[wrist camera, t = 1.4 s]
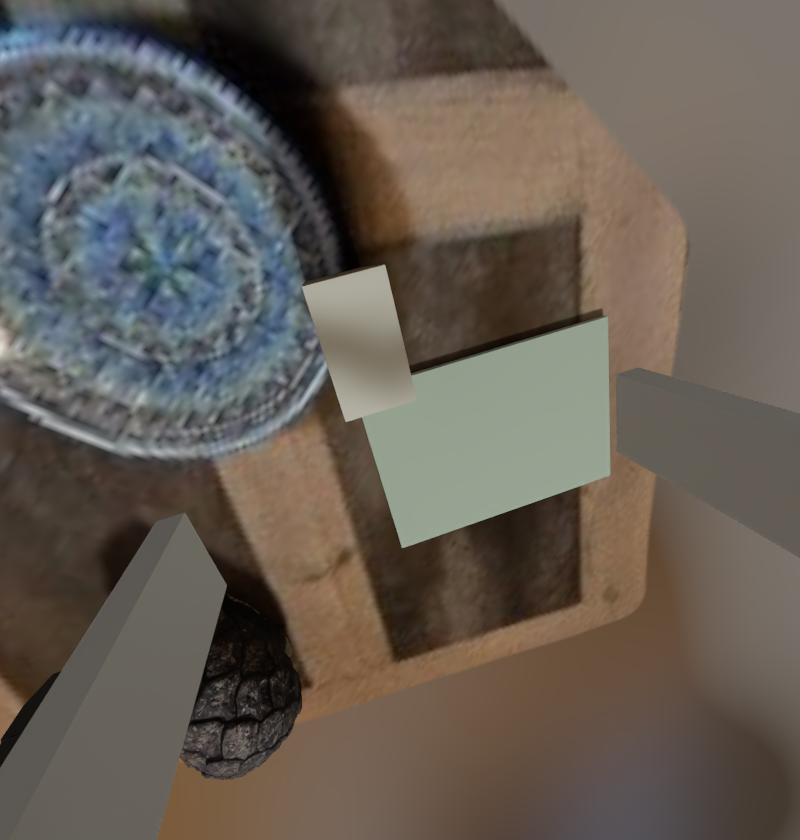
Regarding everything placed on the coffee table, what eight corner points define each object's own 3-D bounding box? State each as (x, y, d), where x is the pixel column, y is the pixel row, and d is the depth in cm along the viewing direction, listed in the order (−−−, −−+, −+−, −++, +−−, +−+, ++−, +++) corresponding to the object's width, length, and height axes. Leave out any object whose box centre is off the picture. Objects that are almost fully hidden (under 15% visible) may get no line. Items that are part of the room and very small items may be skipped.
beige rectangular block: (305, 281, 26) (301, 286, 17) (360, 267, 27) (385, 264, 18) (335, 375, 29) (345, 422, 20) (384, 361, 30) (416, 400, 21)
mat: (353, 390, 30) (354, 392, 29) (602, 315, 32) (607, 316, 32) (400, 544, 36) (402, 548, 36) (606, 472, 39) (610, 475, 38)
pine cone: (172, 545, 32) (115, 657, 22) (323, 639, 39) (327, 752, 30) (86, 622, 32) (-2, 759, 23) (250, 699, 40) (231, 827, 30)
